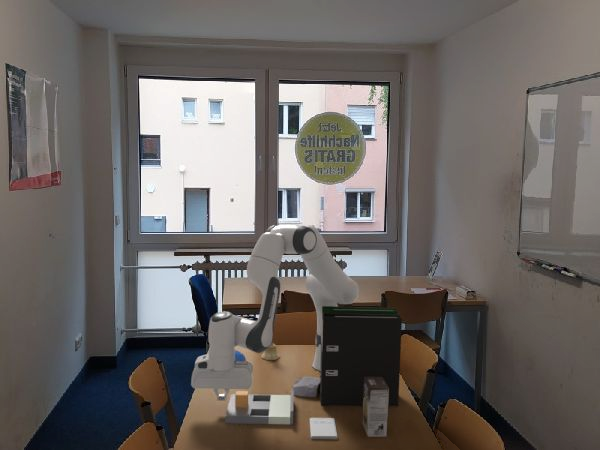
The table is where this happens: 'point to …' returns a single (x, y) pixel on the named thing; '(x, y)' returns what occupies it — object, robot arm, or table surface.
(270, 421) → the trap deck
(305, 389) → the stone block
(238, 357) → the blue ball
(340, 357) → the binder
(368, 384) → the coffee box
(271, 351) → the hand bell
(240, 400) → the block
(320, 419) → the external hard drive
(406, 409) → the table surface
